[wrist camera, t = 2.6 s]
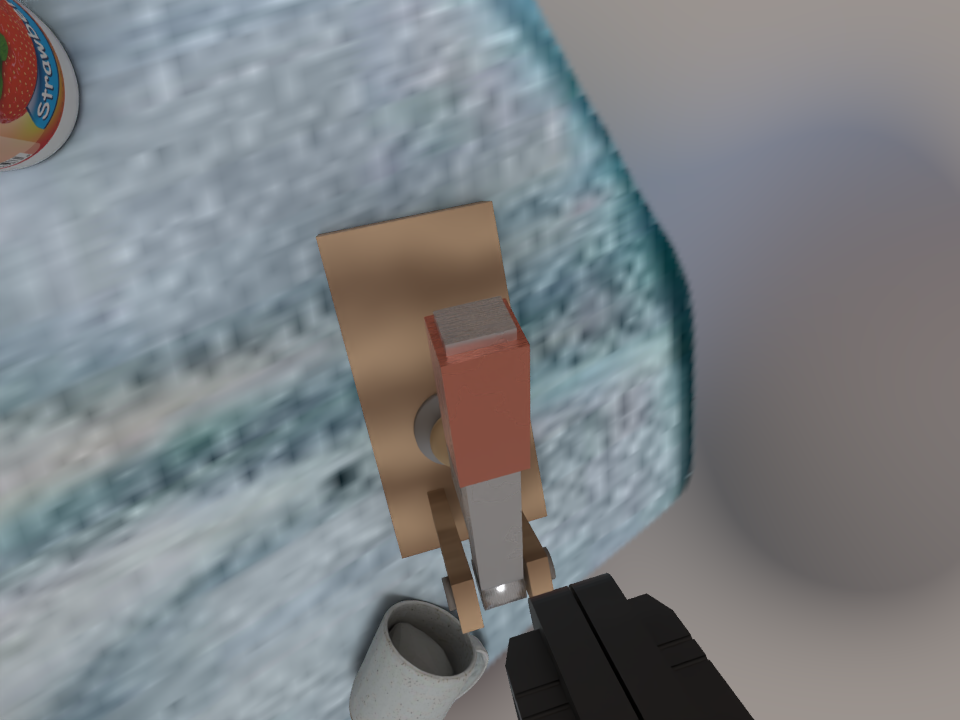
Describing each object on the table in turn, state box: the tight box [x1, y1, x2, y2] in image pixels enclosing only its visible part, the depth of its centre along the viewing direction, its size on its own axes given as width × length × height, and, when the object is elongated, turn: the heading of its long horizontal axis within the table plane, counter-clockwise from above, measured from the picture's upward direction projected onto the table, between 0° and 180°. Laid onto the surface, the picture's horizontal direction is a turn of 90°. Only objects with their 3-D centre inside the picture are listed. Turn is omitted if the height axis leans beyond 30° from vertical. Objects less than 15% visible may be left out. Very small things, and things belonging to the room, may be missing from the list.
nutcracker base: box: [316, 201, 556, 634], centre depth 36 cm, size 23×11×14 cm, turn 11°
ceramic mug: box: [349, 600, 489, 720], centre depth 44 cm, size 11×8×8 cm
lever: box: [424, 296, 530, 610], centre depth 28 cm, size 21×3×6 cm, turn 8°
